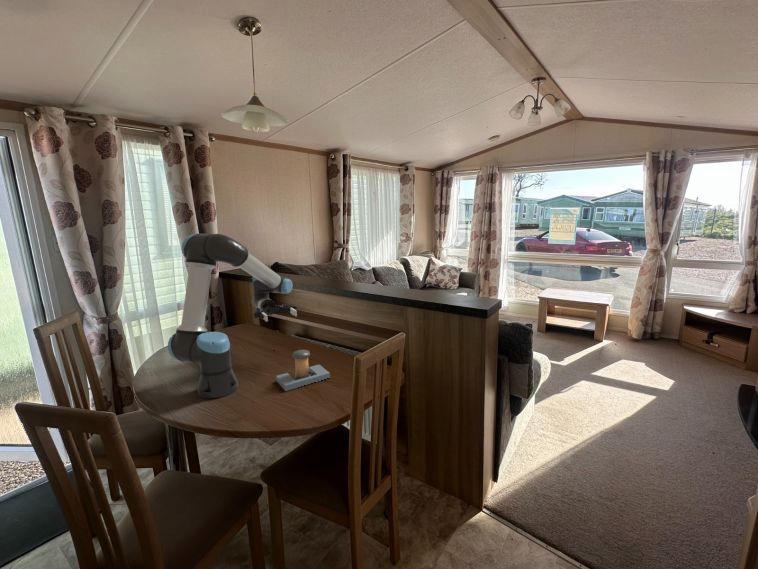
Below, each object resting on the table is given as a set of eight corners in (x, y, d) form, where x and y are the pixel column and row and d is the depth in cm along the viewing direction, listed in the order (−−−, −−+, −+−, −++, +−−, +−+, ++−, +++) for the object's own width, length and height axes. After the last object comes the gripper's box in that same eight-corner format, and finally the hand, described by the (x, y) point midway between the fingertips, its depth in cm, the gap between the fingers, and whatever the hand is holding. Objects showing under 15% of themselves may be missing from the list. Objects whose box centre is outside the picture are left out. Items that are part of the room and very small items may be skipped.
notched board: (285, 391, 144) (285, 385, 144) (276, 381, 153) (276, 375, 153) (330, 378, 155) (329, 373, 155) (319, 369, 164) (319, 364, 163)
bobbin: (297, 384, 150) (296, 357, 148) (291, 378, 156) (290, 352, 153) (313, 379, 154) (312, 353, 152) (307, 373, 160) (305, 348, 157)
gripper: (291, 309, 187) (307, 319, 170) (242, 317, 173) (254, 328, 156) (290, 295, 186) (307, 303, 168) (241, 302, 172) (253, 312, 155)
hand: (281, 315), depth 162 cm, fingers open, 13 cm apart
